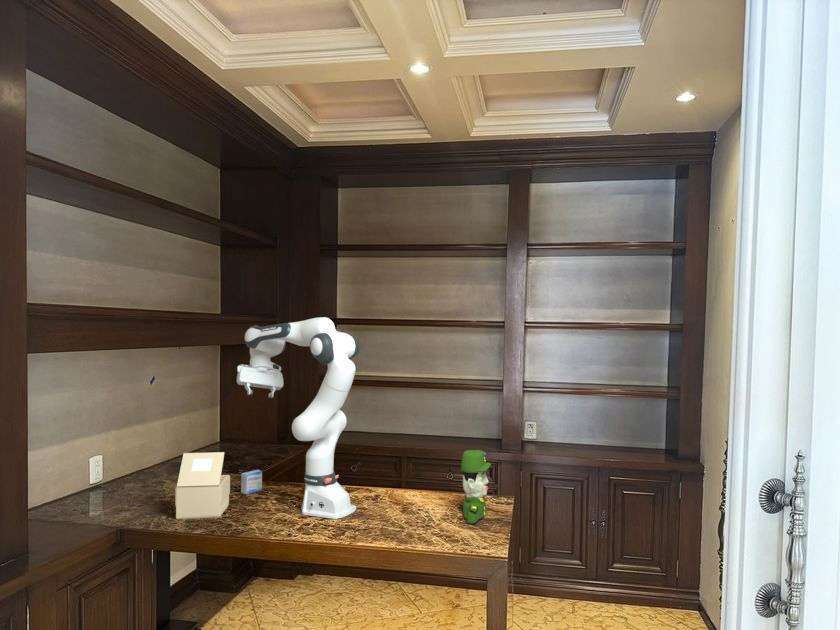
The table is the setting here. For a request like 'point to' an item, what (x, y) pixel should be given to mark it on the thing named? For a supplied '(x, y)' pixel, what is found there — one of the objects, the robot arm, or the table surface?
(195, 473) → the carton flap
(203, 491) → the carton
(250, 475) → the medicine box
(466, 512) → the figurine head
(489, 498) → the table surface
